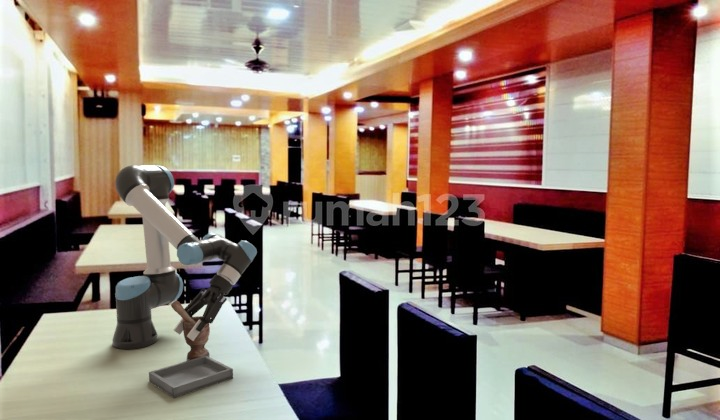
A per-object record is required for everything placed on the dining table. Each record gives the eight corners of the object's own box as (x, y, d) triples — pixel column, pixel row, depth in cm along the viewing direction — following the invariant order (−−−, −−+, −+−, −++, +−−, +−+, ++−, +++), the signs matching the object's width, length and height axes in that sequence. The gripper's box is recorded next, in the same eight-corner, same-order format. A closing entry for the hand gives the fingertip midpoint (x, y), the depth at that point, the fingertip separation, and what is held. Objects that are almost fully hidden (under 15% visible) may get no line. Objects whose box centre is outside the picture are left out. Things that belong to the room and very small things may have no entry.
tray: (149, 381, 160) (148, 372, 159) (206, 364, 173) (206, 355, 173) (173, 398, 149) (173, 387, 148) (233, 378, 162) (232, 368, 162)
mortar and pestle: (178, 366, 172) (175, 305, 170) (172, 358, 179) (169, 300, 177) (214, 358, 178) (211, 299, 176) (206, 351, 185) (203, 294, 184)
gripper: (248, 291, 180) (207, 349, 170) (215, 281, 195) (175, 334, 185) (234, 278, 175) (191, 336, 166) (202, 269, 190) (160, 322, 181)
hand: (183, 335), depth 175 cm, fingers closed on mortar and pestle, 9 cm apart
